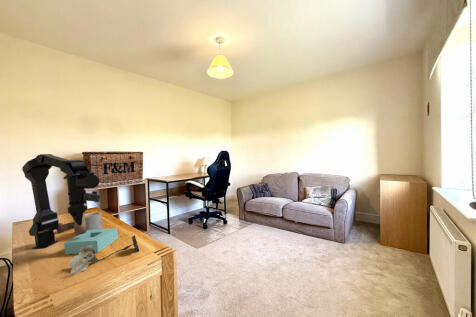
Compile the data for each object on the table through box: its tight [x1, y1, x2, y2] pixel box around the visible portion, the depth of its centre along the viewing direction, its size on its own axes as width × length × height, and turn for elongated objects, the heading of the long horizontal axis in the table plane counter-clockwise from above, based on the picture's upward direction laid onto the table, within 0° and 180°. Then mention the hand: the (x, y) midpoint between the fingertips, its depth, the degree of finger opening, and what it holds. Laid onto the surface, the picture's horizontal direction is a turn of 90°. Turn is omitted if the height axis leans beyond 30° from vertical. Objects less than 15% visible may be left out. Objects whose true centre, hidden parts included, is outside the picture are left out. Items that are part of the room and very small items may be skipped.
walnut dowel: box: [72, 212, 86, 236], centre depth 88 cm, size 4×4×10 cm
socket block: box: [63, 227, 119, 255], centre depth 92 cm, size 14×14×5 cm
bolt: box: [56, 221, 74, 234], centre depth 119 cm, size 6×5×15 cm
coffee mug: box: [85, 211, 103, 231], centre depth 109 cm, size 13×10×10 cm
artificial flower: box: [69, 235, 140, 275], centre depth 77 cm, size 9×22×10 cm, turn 122°
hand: (79, 224), depth 88 cm, fingers closed on walnut dowel, 4 cm apart
